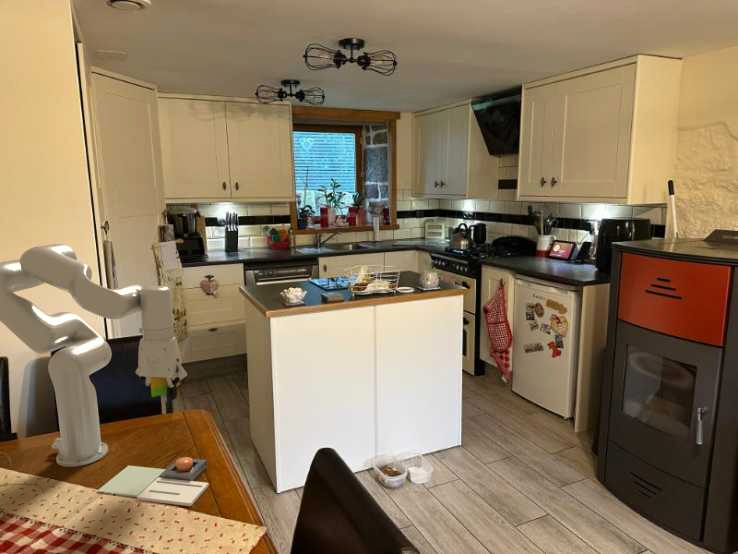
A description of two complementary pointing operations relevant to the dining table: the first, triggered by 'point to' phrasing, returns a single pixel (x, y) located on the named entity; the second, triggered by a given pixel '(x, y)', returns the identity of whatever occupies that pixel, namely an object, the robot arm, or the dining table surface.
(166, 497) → the paper board
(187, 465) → the button
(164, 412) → the popsicle
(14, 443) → the dining table surface
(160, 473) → the mat
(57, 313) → the robot arm
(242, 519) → the dining table surface
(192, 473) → the button housing
